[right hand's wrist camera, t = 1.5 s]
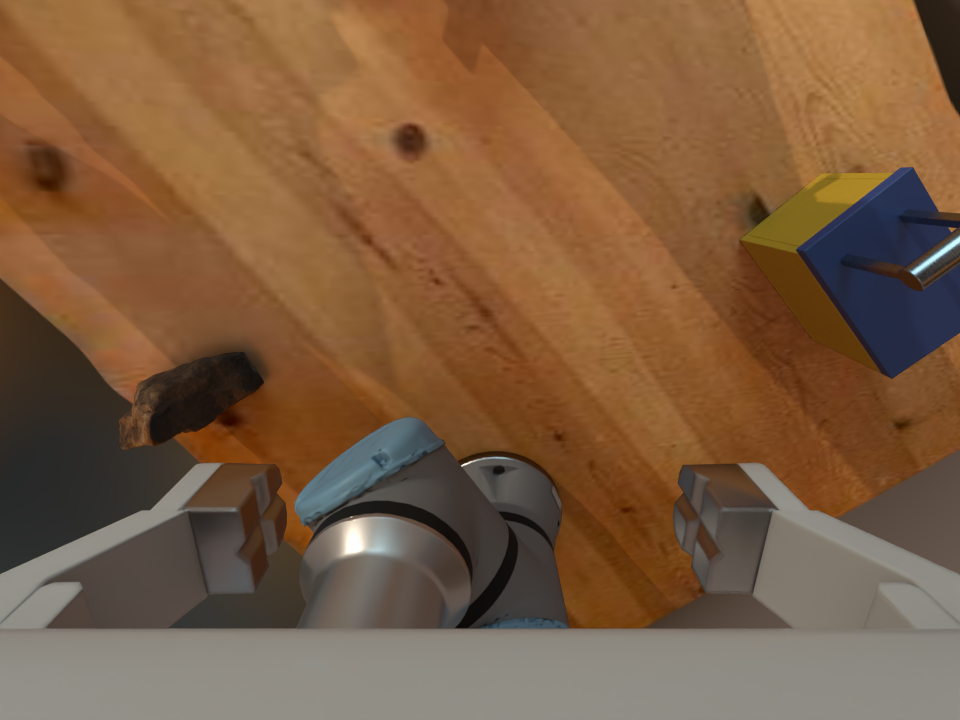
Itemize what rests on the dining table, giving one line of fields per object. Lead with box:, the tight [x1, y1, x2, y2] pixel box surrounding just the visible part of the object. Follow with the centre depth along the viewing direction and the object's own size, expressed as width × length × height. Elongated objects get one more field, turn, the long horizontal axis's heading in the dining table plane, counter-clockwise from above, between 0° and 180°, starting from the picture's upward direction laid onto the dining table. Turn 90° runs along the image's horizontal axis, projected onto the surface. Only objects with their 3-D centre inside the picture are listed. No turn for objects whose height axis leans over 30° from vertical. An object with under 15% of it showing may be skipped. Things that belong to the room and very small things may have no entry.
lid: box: [796, 167, 960, 378], centre depth 37 cm, size 14×9×9 cm, turn 43°
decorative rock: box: [119, 352, 264, 449], centre depth 49 cm, size 12×6×11 cm, turn 106°
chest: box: [740, 173, 893, 373], centre depth 46 cm, size 14×9×10 cm, turn 43°
